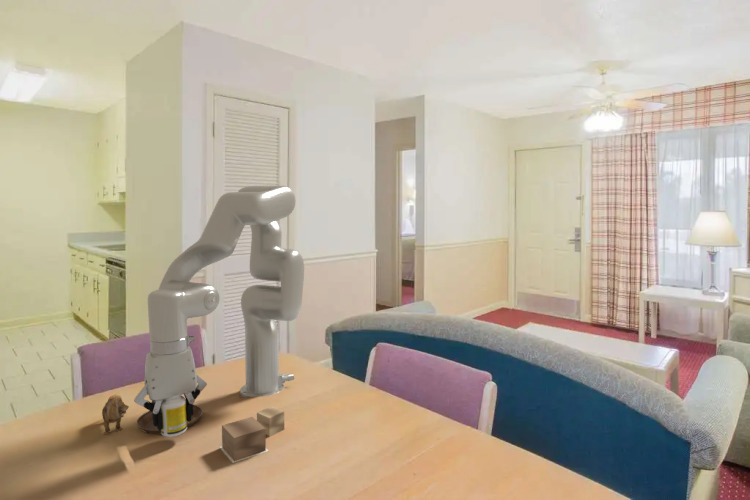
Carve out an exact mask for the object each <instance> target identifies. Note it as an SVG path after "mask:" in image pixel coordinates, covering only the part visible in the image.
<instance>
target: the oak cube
mask: <svg viewBox="0 0 750 500" xmlns="http://www.w3.org/2000/svg"><path fill="white" fill-rule="evenodd" d="M256 420H257V421H258V422H259V423H260V424H261V425H262V426H263V427H265V428H266V437H272V436H274V435H276V434H278V433H280V432H282V431H284V430H285V410H282V409H280V408H278V407H275V406H273V405H272V406H269V407H266V408H265V409H262V410H260V411H257V412H256Z"/></svg>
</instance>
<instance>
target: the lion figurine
mask: <svg viewBox="0 0 750 500" xmlns="http://www.w3.org/2000/svg"><path fill="white" fill-rule="evenodd" d="M129 408H130V407H129V405H127V404H125V402H123V399H122V396H121V395H119V394H117V393H115V394H113V395H111V396H110V397H109V398H108V399H107V402H105V404H104V406H103V408H102V410H101V411H102V412H101V414H102V415H101V416H102V420H103V424H104V428H105V430H104V432H103V434H104V435H109V434H110V433H111V429H110V424H111V423H112V424H113V423H115V430H116V431H117V432H120V431H122V430H124V429H123V427H122V426H121V422H122V418H123V417H125V414H126V413H127V411H128V410H129Z"/></svg>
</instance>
